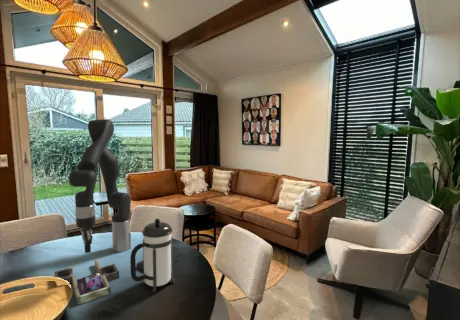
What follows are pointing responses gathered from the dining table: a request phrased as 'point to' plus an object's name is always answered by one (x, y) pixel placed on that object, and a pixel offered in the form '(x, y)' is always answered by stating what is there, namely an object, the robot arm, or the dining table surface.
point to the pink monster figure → (88, 283)
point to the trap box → (107, 275)
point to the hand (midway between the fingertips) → (87, 251)
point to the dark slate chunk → (174, 259)
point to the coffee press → (155, 255)
